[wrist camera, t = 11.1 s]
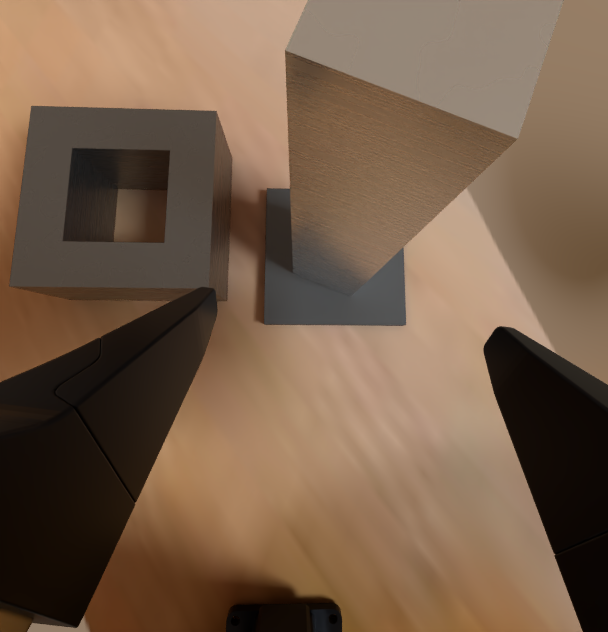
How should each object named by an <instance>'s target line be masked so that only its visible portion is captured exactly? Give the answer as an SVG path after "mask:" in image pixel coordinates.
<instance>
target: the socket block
mask: <svg viewBox="0 0 608 632" xmlns="http://www.w3.org/2000/svg"><path fill="white" fill-rule="evenodd" d="M231 180H232V156H231V153H230V150H229V147H228V144H227V141H226V138H225V135H224V132H223V129H222V126H221V123H220V120H219V117H218V114H217V111H195V110H159V109H124V108H88V107H52V106H31V113H30V121H29V129H28V137H27V145H26V154H25V162H24V170H23V178H22V186H21V194H20V202H19V211H18V219H17V227H16V235H15V243H14V251H13V259H12V268H11V276H10V284H9V286H10V287H14V288H19V289H24V290H28V291H33V292H37V293H42V294H46V295H51V296H56V297H60V298H65V299H69V300H148V301H174V300H175V299H177V298H179V297H181V296H183V295H185V294H187V293H189V292H191V291H193V290H195V289H197V288H199V287H209V288H214V289H215V291H216V300H217V301H227V291H228V263H229V235H230V208H231ZM118 189H151V190H168V193H167V209H166V225H165V241H164V243H139V242H113V239H114V227H115V215H116V203H117V191H118Z"/></svg>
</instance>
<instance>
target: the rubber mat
mask: <svg viewBox="0 0 608 632" xmlns="http://www.w3.org/2000/svg"><path fill="white" fill-rule="evenodd" d="M264 324H265V325H386V326H403V325H406V309H405V280H404V251H403V248H402V249H401V250H400V251H399V252H398V253H397V254H396V255H394V256H393V257H392V258H391V259H390V260H389V261H388V262H387V263H386V264H385V265H384V266H383V267H382V268H381V269H380V270H379V271H378V272H377V273H375V274H374V275H373V276H372V277H371V278H370V279H369V280H368V281H367V282H366V283H365V284H364V285H363V286H362V287H361V288H360V289H359V290H357V291H356V292H355V293H354V294H353V295H352V296H349V295H346V294H344V293H341V292H339V291H336V290H334V289H331V288H329V287H326V286H323V285H321V284H318V283H316V282H313V281H311V280H308V279H306V278H303V277H301V276H298V275H295V274H293V256H292V228H291V200H290V189H270V188H267V211H266V258H265V306H264Z"/></svg>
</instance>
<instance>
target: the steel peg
mask: <svg viewBox="0 0 608 632" xmlns="http://www.w3.org/2000/svg"><path fill="white" fill-rule="evenodd" d="M563 1H564V0H308V1H307V4H306V6H305V8H304V10H303V12H302V15H301V17H300V19H299V21H298V23H297V25H296V28H295V30H294V32H293V34H292V36H291V39H290V41H289V43H288V45H287V47H286V50H285V61H286V88H287V116H288V144H289V172H290V200H291V228H292V256H293V274H295V275H298V276H301V277H303V278H306V279H308V280H311V281H313V282H316V283H318V284H321V285H323V286H326V287H329V288H331V289H334V290H336V291H339V292H341V293H344V294H346V295H349V296H352V295H353V294H354V293H355V292H356V291H357V290H359V289H360V288H361V287H362V286H363V285H364V284H365V283H366V282H367V281H368V280H369V279H370V278H371V277H372V276H373V275H374V274H375V273H377V272H378V271H379V270H380V269H381V268H382V267H383V266H384V265H385V264H386V263H387V262H388V261H389V260H390V259H391V258H392V257H393V256H394V255H396V254H397V253H398V252H399V251H400V250H401V249H402V248H403V247H404V246H405V245H406V244H407V243H408V242H409V241H410V240H411V239H412V238H414V237H415V236H416V235H417V234H418V233H419V232H420V231H421V230H422V229H423V228H424V227H425V226H426V225H427V224H428V223H429V222H430V221H431V220H433V219H434V218H435V217H436V216H437V215H438V214H439V213H440V212H441V211H442V210H443V209H444V208H445V207H446V206H447V205H448V204H449V203H451V202H452V201H453V200H454V199H455V198H456V197H457V196H458V195H459V194H460V193H461V192H462V191H463V190H464V189H465V188H466V187H467V186H468V185H470V184H471V183H472V182H473V181H474V180H475V179H476V178H477V177H478V176H479V175H480V174H481V173H482V172H483V171H484V170H485V169H486V168H488V166H490V165H491V164H492V163H493V162H494V161H495V160H496V159H497V158H498V157H499V156H500V155H501V154H502V153H503V152H504V151H505V150H507V149H508V148H509V147H510V146H511V145H512V144H513V143H514V142H515V141H516V140H517V139H518V137H519V134H520V131H521V128H522V125H523V121H524V119H525V116H526V113H527V109H528V106H529V103H530V100H531V97H532V94H533V91H534V88H535V85H536V82H537V79H538V76H539V73H540V70H541V67H542V64H543V61H544V58H545V55H546V52H547V49H548V46H549V43H550V40H551V37H552V34H553V31H554V28H555V25H556V21H557V19H558V16H559V13H560V10H561V7H562V3H563Z"/></svg>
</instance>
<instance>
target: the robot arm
mask: <svg viewBox="0 0 608 632" xmlns="http://www.w3.org/2000/svg"><path fill="white" fill-rule="evenodd" d="M216 317H217V300H216V291H215V289H214V288H209V287H199V288H197V289H195V290H193V291H191V292H189V293H187V294H185V295H183V296H181V297H179V298H177V299H175V300H174V301H172V302H170V303H168V304H166V305H164V306H162V307H160V308H158V309H156V310H154V311H152V312H150V313H148V314H146V315H144V316H142V317H140V318H138V319H136V320H134V321H132V322H130V323H128V324H126V325H124V326H122V327H120V328H118V329H116V330H114V331H112V332H109V333H107V334H105V335H103V336H102V337H101V338H97V339H95V340H93V341H91V342H89V343H87V344H85V345H83V346H81V347H79V348H77V349H75V350H73V351H71V352H69V353H67V354H65V355H62V356H60V357H58V358H56V359H53V360H51V361H49V362H46V363H44V364H42V365H40V366H37V367H35V368H33V369H30V370H28V371H26V372H23V373H21V374H18V375H16V376H14V377H11V378H9V379H7V380H4V381H2V382H0V632H27V631H28V629H29V627H30V625H31V624H32V623H39V624H47V625H57V626H64V627H73V628H77V627H78V626H79V624H80V622H81V620H82V618H83V616H84V614H85V612H86V610H87V607H88V605H89V603H90V601H91V599H92V597H93V595H94V592H95V590H96V588H97V586H98V584H99V582H100V579H101V577H102V575H103V573H104V571H105V569H106V567H107V564H108V562H109V560H110V558H111V556H112V554H113V551H114V549H115V547H116V545H117V543H118V541H119V538H120V536H121V534H122V532H123V530H124V528H125V526H126V523H127V521H128V519H129V517H130V515H131V513H132V510H133V508H134V506H135V502H136V501H137V499H138V497H139V495H140V493H141V491H142V489H143V486H144V484H145V482H146V480H147V478H148V476H149V473H150V471H151V469H152V467H153V465H154V463H155V461H156V458H157V456H158V454H159V452H160V450H161V448H162V445H163V443H164V441H165V439H166V437H167V435H168V433H169V430H170V428H171V426H172V424H173V422H174V420H175V417H176V415H177V413H178V411H179V409H180V407H181V405H182V402H183V400H184V398H185V396H186V394H187V392H188V389H189V387H190V385H191V383H192V381H193V379H194V377H195V374H196V372H197V370H198V368H199V366H200V364H201V361H202V359H203V357H204V354H205V351H206V348H207V345H208V342H209V339H210V336H211V332H212V329H213V326H214V323H215V320H216ZM484 356H485V360H486V364H487V368H488V372H489V376H490V380H491V384H492V387H493V391H494V394H495V397H496V400H497V403H498V406H499V408H500V411H501V414H502V416H503V419H504V422H505V424H506V427H507V430H508V432H509V435H510V438H511V440H512V443H513V446H514V448H515V451H516V454H517V456H518V459H519V462H520V464H521V467H522V470H523V472H524V475H525V478H526V480H527V483H528V486H529V488H530V491H531V494H532V496H533V499H534V502H535V504H536V507H537V510H538V512H539V515H540V518H541V520H542V523H543V526H544V528H545V531H546V534H547V536H548V539H549V542H550V545H551V547H552V550H553V552H554V554H555V559H556V561H557V564H558V567H559V569H560V572H561V575H562V577H563V580H564V583H565V585H566V588H567V591H568V593H569V596H570V599H571V601H572V604H573V607H574V609H575V612H576V615H577V618H578V620H579V623H580V626H581V628H582V631H583V632H608V385H607V384H605V383H604V382H602V381H600V380H599V379H597V378H595V377H594V376H592V375H590V374H588V373H587V372H585V371H584V370H582V369H581V368H579V367H577V366H576V365H573V364H572V363H571V362H569V361H567V360H566V359H564V358H562V357H561V356H559V355H557V354H556V353H554V352H552V351H551V350H549V349H547V348H546V347H544V346H542V345H541V344H539V343H537V342H536V341H534V340H532V339H531V338H529V337H527V336H526V335H524V334H522V333H521V332H519V331H517V330H516V329H514V328H511V327H503V326H500V327H497V328H496V329H495V330H494V332H493V333H492V335H491V336H490V337H489V339H488V340H487V342H486V343H485V345H484ZM331 614H335V615H336V616H335V617H333V618H332V617H330V615H331ZM233 616H238V617H239V619H234V618H233ZM226 632H342V616H341V611H340V608H339V606H338V605H336V604H334V603H310V604H255V605H234V606H233V607H231V608H230V610H229V613H228V616H227V621H226Z"/></svg>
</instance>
